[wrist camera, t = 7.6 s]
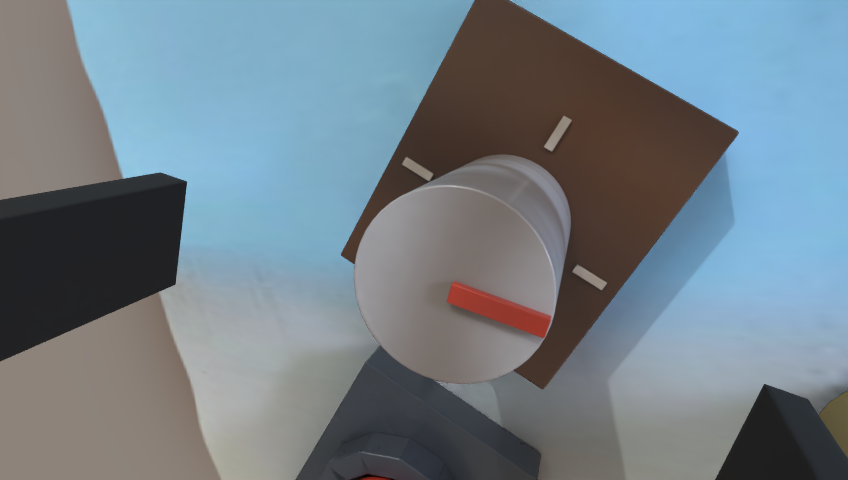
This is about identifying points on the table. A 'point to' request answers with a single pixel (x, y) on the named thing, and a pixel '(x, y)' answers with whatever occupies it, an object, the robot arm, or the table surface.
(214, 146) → the table surface
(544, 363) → the control panel
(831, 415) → the olive pawn figure
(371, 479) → the button
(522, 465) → the button box
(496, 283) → the knob
